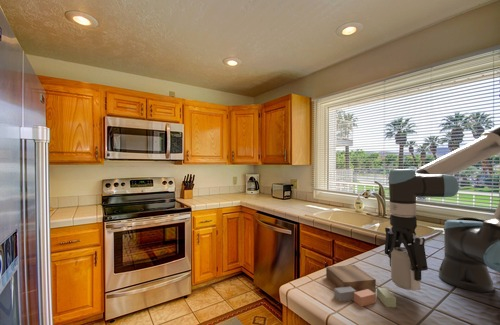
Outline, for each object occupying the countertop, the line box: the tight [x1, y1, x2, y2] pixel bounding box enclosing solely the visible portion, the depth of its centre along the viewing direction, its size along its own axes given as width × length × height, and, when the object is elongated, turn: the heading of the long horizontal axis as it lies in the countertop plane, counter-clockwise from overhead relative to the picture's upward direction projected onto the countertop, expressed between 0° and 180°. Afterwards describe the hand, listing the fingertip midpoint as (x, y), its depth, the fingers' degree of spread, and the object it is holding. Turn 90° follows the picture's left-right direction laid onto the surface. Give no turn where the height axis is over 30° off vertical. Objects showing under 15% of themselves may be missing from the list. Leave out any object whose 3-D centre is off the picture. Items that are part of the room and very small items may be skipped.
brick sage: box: [376, 286, 397, 308], centre depth 75 cm, size 6×3×3 cm, turn 176°
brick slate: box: [333, 286, 356, 303], centre depth 76 cm, size 6×3×3 cm, turn 104°
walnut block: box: [325, 264, 377, 292], centre depth 86 cm, size 12×12×4 cm
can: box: [390, 246, 417, 291], centre depth 78 cm, size 8×8×12 cm
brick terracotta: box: [353, 289, 377, 307], centre depth 74 cm, size 6×3×3 cm, turn 111°
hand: (404, 283), depth 78 cm, fingers closed on can, 7 cm apart
